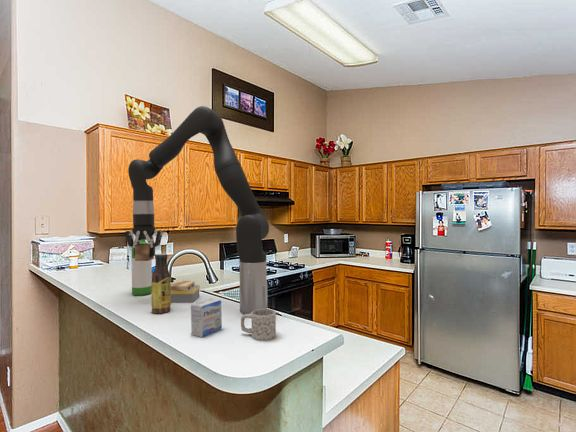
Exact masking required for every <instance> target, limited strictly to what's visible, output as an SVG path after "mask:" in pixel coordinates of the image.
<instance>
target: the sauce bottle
mask: <svg viewBox="0 0 576 432" xmlns="http://www.w3.org/2000/svg"><path fill="white" fill-rule="evenodd" d="M154 260H155V265H154V266H155V268H154V269H153V271H152V292H151V297H150V298H151V300H150V303H151V304H150V305H151V312H152V313H153V314H165V313H168V312H169V311H170V310H171V305H172V302H171V283H172V282H171V280H172V279H171V275H170V271H169V267H168V254H167V253H155V256H154Z"/></svg>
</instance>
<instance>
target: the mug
mask: <svg viewBox="0 0 576 432" xmlns="http://www.w3.org/2000/svg"><path fill="white" fill-rule="evenodd" d="M276 315H277V314H276V311H275V310H274V309H271V308H267V309H257V310H254V311H252V312H251V314H242V315H241V317H240V328H241V331H242V332H245V333H246V334H247V333H248V334H251V338H252V340H256V341H259V342H260V341H261V342H264V341H266V342H267V341H271V340H273V339H275V338H276V337H277V336H276V335H277V331H276V324H277V323H276V321H277V319H276ZM245 319H251V328H247V327H245Z"/></svg>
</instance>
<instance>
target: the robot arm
mask: <svg viewBox="0 0 576 432" xmlns="http://www.w3.org/2000/svg"><path fill="white" fill-rule="evenodd" d="M199 134H202V135H203V136H204V137H205V138H206V139H207V141H208V143H209V144H210V147H211V150H212V154H213V166H214V171H215V174H216V177H217V179H218V181H219V183H220V186H221V188H222V189H223V191H224V192H225V193H226V194H227V195H228V197H229V198H230V199H231V200H232V202H234V204H235V206H236V207H237V209H238V210H239V212H240V215H241V217H240V218H238V221H237V224H236V228H235V238H236V241H235V242H236V251H237V255H238V257H239V312H240V313H241V314H242V315H244V314H251V312H252V311H254V310H257V309H268V281H267V253H266V252H265V251H264V250H263V241H262V240H264V239H265V238H266V237H267V236H268V234H269V232H270V225H269V221H268V220H267V217H266V216H265V214H264V212H263V211H262V209H261V207H260V205H259V204H258V201H257V200H256V198H255V195H254V193H253V191H252V189H251V186H250V183H249V181H248V178H247V177H246V173H245V172H244V169H243V167H242V165H241V162H240V161H239V158H238V157H237V154H236V152H235V150H234V148H233V146H232V144H231V142H230V138H229V136H228V133H227V129H226V127H225V124H224V121H223V118H222V116H221V115H220V114H219V113H218V112H216V111H214V110H213V109H212V108H210V107H208V106H205V105H201V106H198V107H196V108H194V110H193V111H192V112H190V113H189V114H188V116H187V117H186V118H185V119H184V120H183V121H182V123H180V124H179V126H177V127H176V129H175V130H174V131H173V132H172V133H171V134H169V136H167V138H165V139H164V140H163V141H161V143H159V144H158V145H156V146H155V147H154V148H153V149H151V151H149V154H148V157H149V159H148V160H142V159H138V158H137V159H133V160H131V162H130V163H129V165H128V178H129V181H130V185H131V188H132V191H133V192H132V195H133V196H132V199H133V201H132V202H133V203H132V229H131V230H125V232H124V235H125V239H126V242H127V245H128V247H130V248H132V247H133V248H134V256H135V245H137V244H140V242H141V240H142V239H144V240H145V241H146V242H147V243H148V244H150V258H153V257H154V258H155V254H156V247H158V246H160V245H161V243H162V237H163V234H164V232H163V230H162V229H161V230H158V229H156V228H155V205H154V204H155V203H154V188H153V187H152V186H151V185H149V184H148V182H147V180H151V179H154V178H156V176H158V175H159V174H160V172H162V171H161V170H163V169H164V167H165V166H166V165H167V164H169V163H170V162H171V161H173V160H174V159H175V158H176V157H177V156H178V155H179V154H180V153H181V152H182V150H183V148H184V146H185V145H186V144H187V142H188V141H189V140H190V139H192V138H193V137H195V136H197V135H199ZM154 234H155V239H154ZM133 235H134V236H135V237H134V238H133Z"/></svg>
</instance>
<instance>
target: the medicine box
mask: <svg viewBox="0 0 576 432" xmlns="http://www.w3.org/2000/svg"><path fill="white" fill-rule="evenodd" d="M222 318H223V317H222V300H221V299H217V298H209V299H205V300H203V301H199V302H196V303H194V304H193V303H192V304H191V305H190V320H191V321H190V323H191V324H190V325H191V326H190V327H191V330H190V332H191V335H192V336H196V337H201V338H205V337H207V336H209V335H212V334H213V333H217V332H218V331H220V330H222V329H223V328H222V327H223V326H222V325H223V324H222V322H223V321H222Z"/></svg>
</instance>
